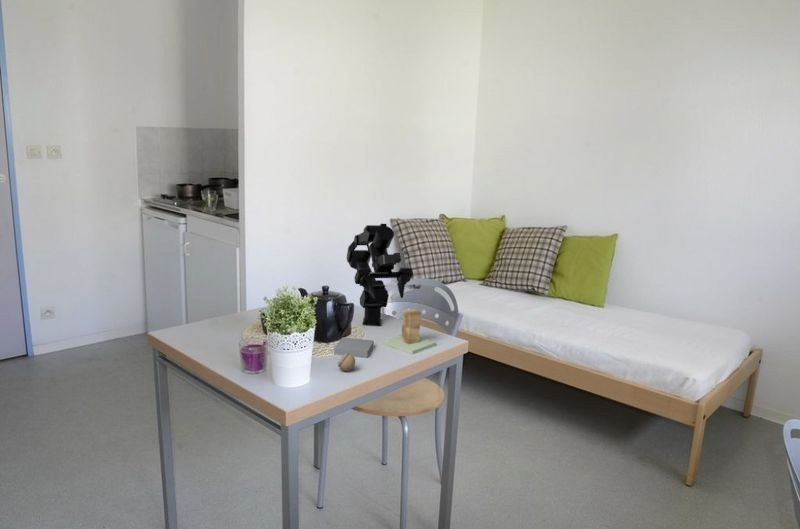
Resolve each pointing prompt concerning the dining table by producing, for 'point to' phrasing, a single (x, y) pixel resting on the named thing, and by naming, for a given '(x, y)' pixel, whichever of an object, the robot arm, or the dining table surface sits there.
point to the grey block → (354, 347)
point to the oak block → (410, 326)
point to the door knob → (346, 362)
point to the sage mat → (409, 348)
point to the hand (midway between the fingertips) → (388, 298)
